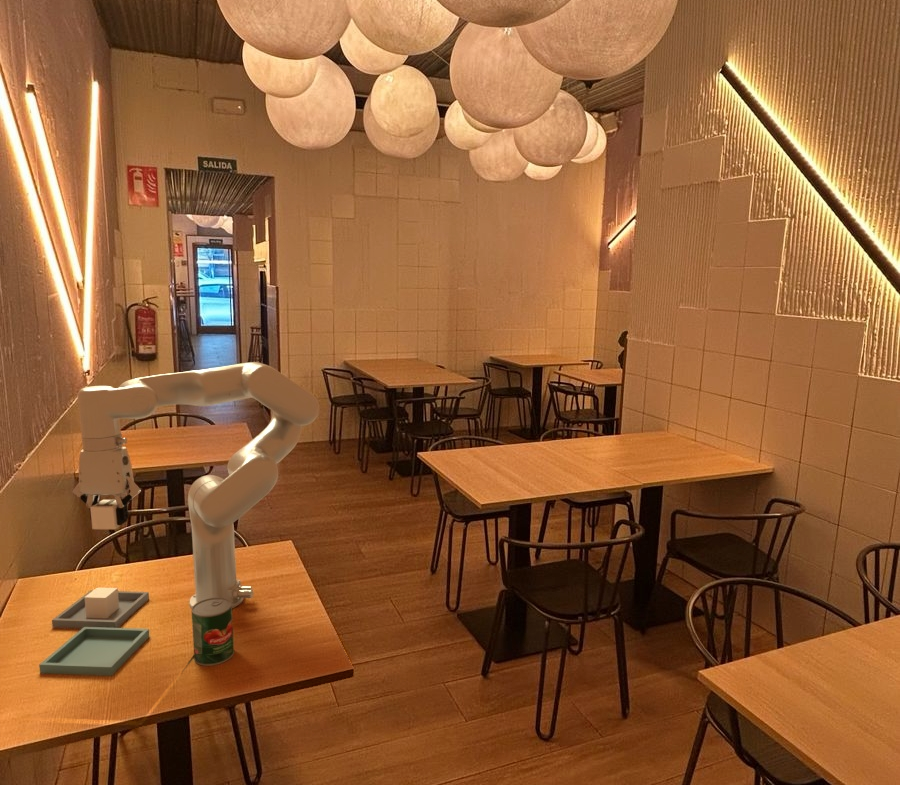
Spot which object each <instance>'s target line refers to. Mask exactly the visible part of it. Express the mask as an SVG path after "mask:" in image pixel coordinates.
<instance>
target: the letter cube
mask: <svg viewBox="0 0 900 785" xmlns="http://www.w3.org/2000/svg"><path fill="white" fill-rule="evenodd" d="M117 507H118V505H117V503H116V500H115V499H102V500H99V502H98V503H97V504H95V505H93V506H92V507H90V510H91V519H92V521H91V528H92V530H116V529H118V528H119V527H121V526H122V525H123V524H125V523H123V524H122V525H117V516H116V508H117ZM90 510H89V511H90ZM91 519H90V520H91Z"/></svg>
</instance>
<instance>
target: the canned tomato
mask: <svg viewBox="0 0 900 785" xmlns="http://www.w3.org/2000/svg"><path fill="white" fill-rule="evenodd" d="M232 609H233V608H232V603H231V601H230V600H229V599H226V598H220V597H216V598H209V599H205V600H202V601H200V602H198V603H196V604H195V605H194V606H193V607H192V608H191V610H190V611H191V620H192V621H191V623H192V641H193V656H194V657H193V659H194V662H195V663H196V664H198V665H200V666H202V667H203V666H204V667H209V666H210V667H212V666H218V665H221V664H223V663H225V662H227V661H229V660H230V659H231V658H232V657H233V656H234V654H235V649H234V647H235V646H234V628H233V610H232Z"/></svg>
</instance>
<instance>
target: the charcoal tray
mask: <svg viewBox="0 0 900 785" xmlns="http://www.w3.org/2000/svg"><path fill="white" fill-rule="evenodd" d="M93 590H94V589H92V590H90V591H88V592H87V593H85V594H84V595H83V596H82V597H80V598H79V599H77V600H76V601H75V602H73V603H72V604H71V605H70V606H68V607H67V608H65V609H64V610H63V611H62V612H61V613H59V614H58V615H56V616H55V617H54V618H53V619H51V623H52V624H51V626H52V629H78V630H81V629H82V628H83V627H105V628H120V626H122V625H123V624H124V623H125V622H126V621H127V620H128V619H129V618H130V617H132V616H133V615H134V613H135V612H137V611H138V610H139V609H141V607H142V606H144V605H145V603H147V601H149V600H150V594H149V591H130V590H129V591H127V590H125V591H124V590H118V598H119V608H118V609H117V610H116V611H115V612H114V613H113V614H111V615H110V616H109V617H108V618H86V609H85V598H84V597H85V596H87V595H88V594H89V593H91V592H92V591H93Z"/></svg>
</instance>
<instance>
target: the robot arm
mask: <svg viewBox="0 0 900 785" xmlns="http://www.w3.org/2000/svg"><path fill="white" fill-rule="evenodd" d="M251 398H252V399H255V401H257V402H259V403H260V404H261V405H263V406H265V407H266V408H268V410H271V411H272V416H271V419H270V421H269V423H268V424H267V426H266V427H265V428H264V429H263V430H262V431H261V432H260V433H259V434H258V435H256V436H255V437H254V438H252V439H251V440H250V441H249V442H247V443H246V444H244V445H243V447H241V448H240V449H239V450H237V451H236V452H235V453H233V454H232V456H230V458H229V460H228V462H227V465H226V466H227V472H228V476H226V478H223V477H221V476H218V475H213V474H207V475H203V476H200V477H198V478H197V479H196V480H195V481H193V483H192V484H191V486H190V487H189V489H188V490H189V491H188V495H187V504H188V512H189V518H190V525H191V526H190V527H191V537H192V538H191V539H192V558H193V572H194V573H193V574H194V576H193V577H194V588H195V594H193V595H192V596H191V597H190V598H189V601H188V602H189V603H188V605H189V608H191V609H192V607H193V606H194V605H195V604H196V603H198V602H200V601H202V600H205V599H209V598H216V597H220V598H226V599H229V600H230V601H231V603H232V609H234V608H236V607H237V606H239V605H240V604H241V603H243V601H244V599H252V598H253V597H254V596H253V595H254V591H253V589H252V586H248V585H247V586H243V585H242V584H241V579H237V568H236V548H235V546H236V545H235V527H234V526H235V525H234V523H235V522H236V521H237V520H239V519H240V518H241V517H243V516H244V515H245V514H246V513H247V512H248V511H250V510H251V509H252V508H254V506H255V505H256V504H258V503H259V502H260V501H261V500H263V498H265V496H267V495H268V494H269V493H270V492H271V491H272V490H273V489H274V487H275V485H276V484H277V482H278V479H279V467H278V465H277V464H279V463H280V462H281V461H282V460H284V458H285V457H287V456H288V455H289V454H290V452H292V450H294V449H295V447H296V446H297V444H298V442H299V439H300V438H301V434H302V431H303V426H309V425H310V424H312V423H313V422H315V420H316V419H317V418H318V416H319V415H320V414H319V413H320V404H319V401H318V399H317V397H316V396H315V395H314V394H313V393H312V392H310V391H309V390H307V389H305V388H304V387H302V386H301V385H300V384H298V383H297V382H295V381H294V380H292V379H290V378H289V377H287V376H286V375H284V374H283V373H281V372H280V371H279V370H277V369H276V368H275V367H273V366H270V365H268V364H265V363H263V362H262V363H261V362H259V361H249V362H248V361H247V362H241V363H235V364H231V365H223V366H217V367H210V368H205V369H199V370H198V369H196V370H188V371H183V372H173V373H165V374H164V373H163V374H156V375H150V376H143V377H137V378H133V379H128V380H126V381H123V383H121V384H120V385H119V386H118V387H117V388H115V387H114V386H110V385H93V386H85V387H82V388H80V390H79V391H78V393H77V403H78V405H77V406H78V412H79V422H80V424H79V425H80V432H81V443H82V445H81V446H82V449H81V450H80V453H79V460H78V483H77V484H76V486H75V487H74V488H73V490H72V493H73V494H74V495H75V496H76V497H78V498H80V500H81V501H82V502H83V503H84V504H85V506H86V508H88V509H89V516H90V517H89V518H90V521H91V522H92V519H91V510H90V507H92V506H93V505H95V504H97V503H98V502H100V496H114V500H116V503H117V505H118V507H117V508H116V516H117V525H121V526H122V525H123V523H124V524H125V523H127V522H128V520H129V519H128V518H129V511H128V505H129V504H130V502H132V500H133V499H134V497H136V496H138V495H139V494H140V493H141V492H142V489H141V488H140V487H139V486H138V484H136V482H135V479H134V472H133V468H132V463H131V458H130V455H129V452H128V449H127V447H126V446H123V445H126V444H127V443H128V439H127V438H126V437H123V436H122V435H123V434H122V433H121V432H122V431H121V422H120V421H121V420H120V419H133V420H134V419H139V420H140V419H145V418H148V417H150V416H151V415H152V414H154V413H155V412H156V411H157V409H158V407H159V408H160V407H164V406H165V407H166V406H172V405H187V406H188V405H189V406H195V407H196V406H197V407H208V406H209V407H210V406H214V405H219V404H223V403H229V402H234V401H241V400H246V399H251ZM126 490H127V491H128V490H130V492H129V493H128V494H127V491H126Z"/></svg>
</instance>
